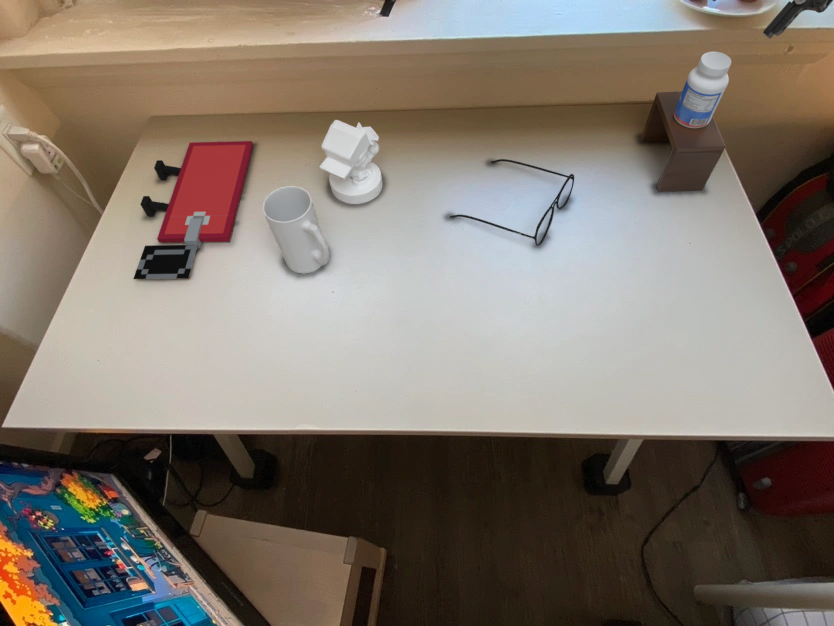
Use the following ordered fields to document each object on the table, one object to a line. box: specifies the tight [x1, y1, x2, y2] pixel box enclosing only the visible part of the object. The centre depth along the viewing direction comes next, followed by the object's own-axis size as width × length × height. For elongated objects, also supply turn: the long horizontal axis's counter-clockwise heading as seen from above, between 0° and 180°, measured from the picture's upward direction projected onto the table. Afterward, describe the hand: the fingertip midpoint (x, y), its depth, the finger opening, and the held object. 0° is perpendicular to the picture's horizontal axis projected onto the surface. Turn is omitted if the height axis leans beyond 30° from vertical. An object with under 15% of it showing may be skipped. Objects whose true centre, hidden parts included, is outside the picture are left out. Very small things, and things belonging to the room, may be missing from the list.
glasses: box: [449, 158, 575, 247], centre depth 88 cm, size 14×15×5 cm
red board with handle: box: [132, 140, 254, 280], centre depth 92 cm, size 30×3×15 cm
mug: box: [262, 185, 330, 274], centre depth 80 cm, size 10×7×12 cm, turn 48°
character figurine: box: [319, 119, 383, 205], centre depth 89 cm, size 9×10×12 cm
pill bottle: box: [674, 51, 732, 128], centre depth 81 cm, size 6×5×10 cm
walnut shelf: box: [640, 90, 727, 193], centre depth 89 cm, size 13×7×9 cm, turn 0°
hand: (737, 16), depth 68 cm, fingers open, 8 cm apart
